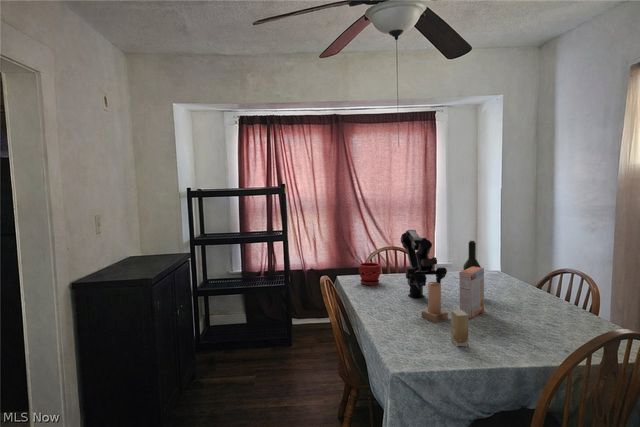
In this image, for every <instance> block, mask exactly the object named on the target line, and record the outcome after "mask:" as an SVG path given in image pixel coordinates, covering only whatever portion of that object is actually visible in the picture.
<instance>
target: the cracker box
mask: <svg viewBox="0 0 640 427" xmlns="http://www.w3.org/2000/svg"><path fill="white" fill-rule="evenodd" d="M480 267H481V266H480ZM480 267H470V268H468V269H466V270H464V269H463V270H461V271H459V310H462V311H464V312H465V313H466V314H468V315H469V319H471V320H473V319H475V317H477V316H479V315H480V314H482V313H483V312H484V311H485V268H484V267H481V268H480Z"/></svg>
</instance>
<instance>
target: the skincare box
mask: <svg viewBox="0 0 640 427" xmlns="http://www.w3.org/2000/svg"><path fill="white" fill-rule="evenodd" d="M469 319H470V318H469V315H468V314H466V313H465V312H464V311H462V310H460V309H453V310H452V309H451V311H450V341H451V342H452V343H453V344H454V345H455V346H456V345H457V346H465V347H467V346H466V345H468V346H469V323H470V322H469ZM457 346H456V347H457Z"/></svg>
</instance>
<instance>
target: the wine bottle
mask: <svg viewBox="0 0 640 427" xmlns="http://www.w3.org/2000/svg"><path fill="white" fill-rule="evenodd" d="M476 246H477V242H475V240H469V242H468V258H467V260H466V261H465V262H464V264H463V270H466V269H468V268H470V267H480V268H482V266H481V265H480V263H479V261H478V260H477V259H476V257H477V256H476V255H477V251H476V249H477V248H476Z"/></svg>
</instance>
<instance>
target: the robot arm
mask: <svg viewBox="0 0 640 427" xmlns="http://www.w3.org/2000/svg"><path fill="white" fill-rule="evenodd" d="M400 244H402V248H403V249H404V250H406V255H407V258H408V263H409V267H408V268H407V269H406V272H405V278H406V280H407V285H408V286H409V294H408V295H407V297H410V298H413V299H421V298H424V297H426V295H424V294H423V292H424V287H425V286H426V284H427V276H431V275H432V276H433V275H435V277H436V278H435V280H436V281H435V282H438V283H440V284H441V283H442V280H443V279H444V278H445V277H446V275H447V273H448V270H447V268H446V267H443V266H442V267H437V268H436V270H433V268H434V267H433V266H435V265H437V264H438V260H437V257H434V256H433V257H431V258H429V254H430V252H431V250H432V247H433V243H432V241H430V240H429V239H427V237H420V236H419V234H418V233H417V230H416V229H407V230H406V231H405V232H404V233H403V234H401V237H400Z"/></svg>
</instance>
